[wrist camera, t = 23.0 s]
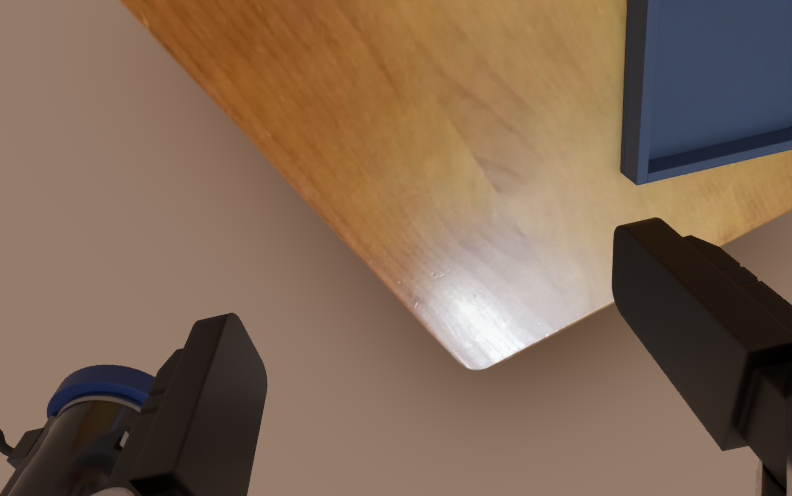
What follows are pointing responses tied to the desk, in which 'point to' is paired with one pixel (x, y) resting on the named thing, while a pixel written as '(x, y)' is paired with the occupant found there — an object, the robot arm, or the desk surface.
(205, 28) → the desk surface
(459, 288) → the desk surface
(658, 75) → the blue tray
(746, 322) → the robot arm
